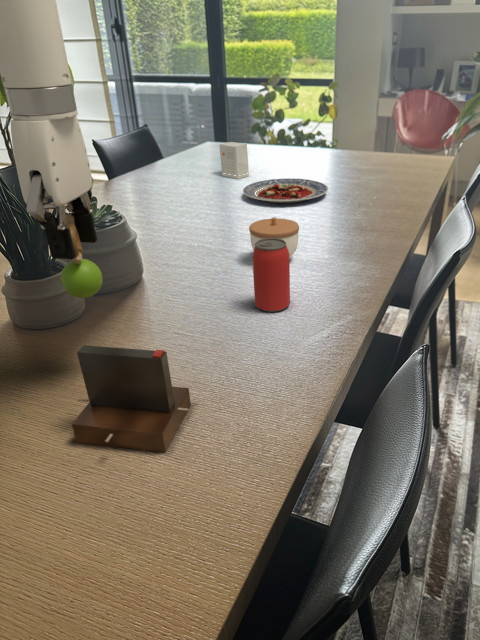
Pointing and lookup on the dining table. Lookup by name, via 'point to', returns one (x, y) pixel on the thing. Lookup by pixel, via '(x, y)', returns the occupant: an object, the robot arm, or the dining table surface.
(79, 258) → the green ball on stick
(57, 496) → the dining table surface
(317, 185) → the ceramic plate
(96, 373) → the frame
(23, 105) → the robot arm
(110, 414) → the frame stand
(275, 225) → the trinket box
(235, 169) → the small box
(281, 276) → the beer can
